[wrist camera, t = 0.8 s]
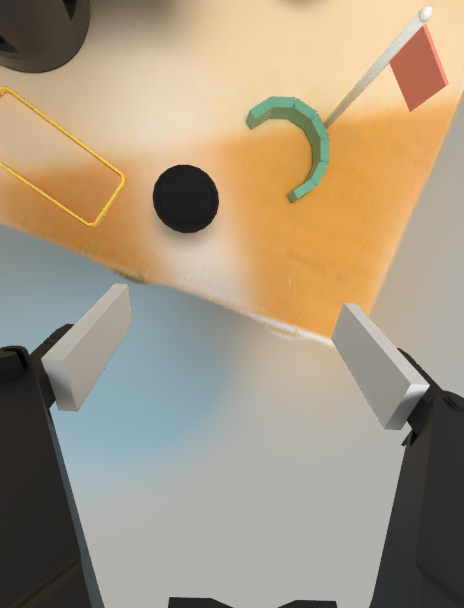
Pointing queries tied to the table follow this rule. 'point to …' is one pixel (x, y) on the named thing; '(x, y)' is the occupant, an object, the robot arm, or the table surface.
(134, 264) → the table surface
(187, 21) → the table surface
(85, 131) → the table surface
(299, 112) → the cup ring
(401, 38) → the flag
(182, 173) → the coffee cup
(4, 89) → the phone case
